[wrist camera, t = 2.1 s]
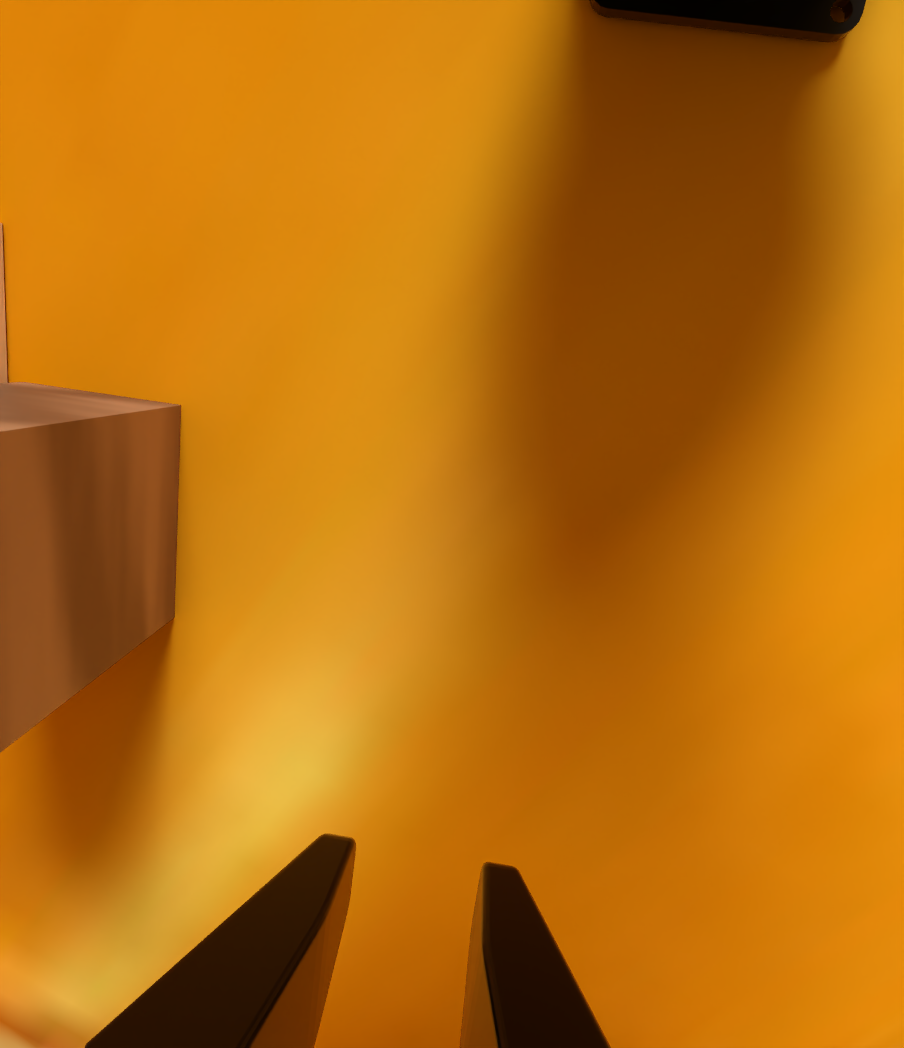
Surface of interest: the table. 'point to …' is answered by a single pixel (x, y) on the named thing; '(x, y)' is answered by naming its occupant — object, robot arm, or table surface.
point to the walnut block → (80, 539)
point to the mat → (2, 317)
